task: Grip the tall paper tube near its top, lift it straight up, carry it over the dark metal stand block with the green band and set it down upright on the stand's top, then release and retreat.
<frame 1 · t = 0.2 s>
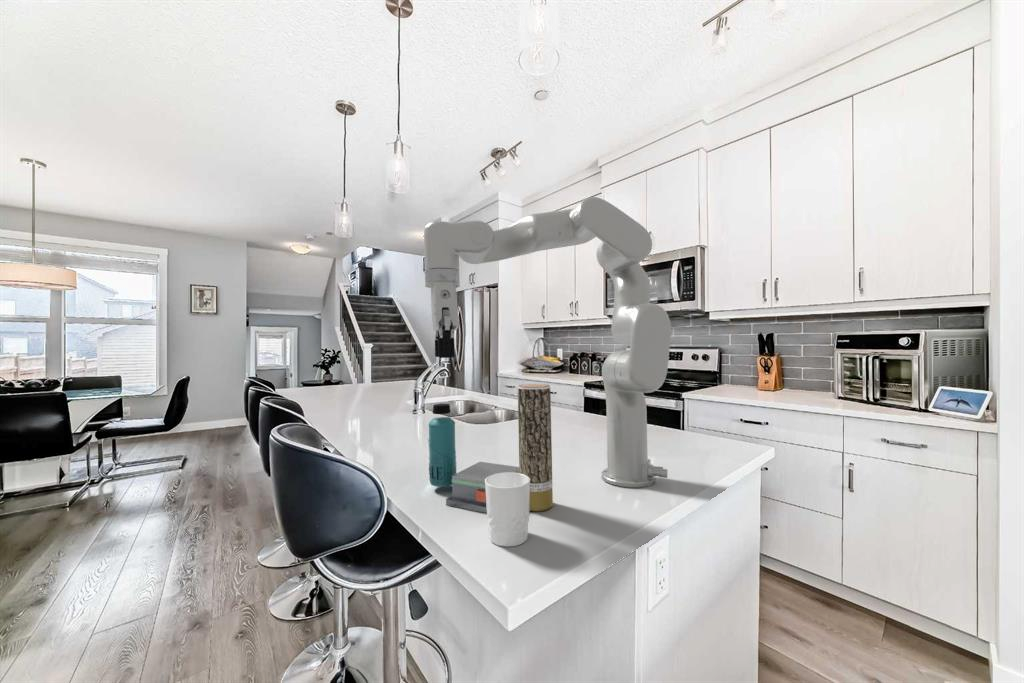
hand: (444, 357, 86), 31 cm above the countertop, tool pointing down, fingers open, 9 cm apart
paper tube: (536, 506, 80), on the countertop
white cup: (508, 538, 67), on the countertop
beverage bottle: (443, 489, 91), on the countertop
stand: (488, 499, 85), on the countertop
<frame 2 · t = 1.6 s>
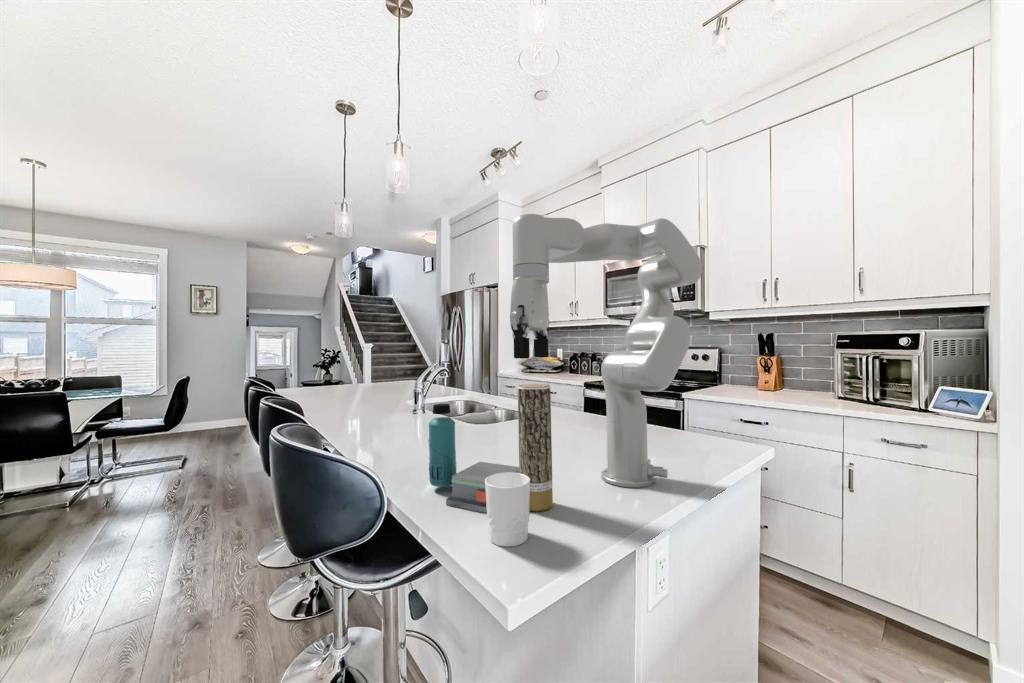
hand: (531, 357, 81), 31 cm above the countertop, tool pointing down, fingers open, 9 cm apart
nothing on the countertop moved.
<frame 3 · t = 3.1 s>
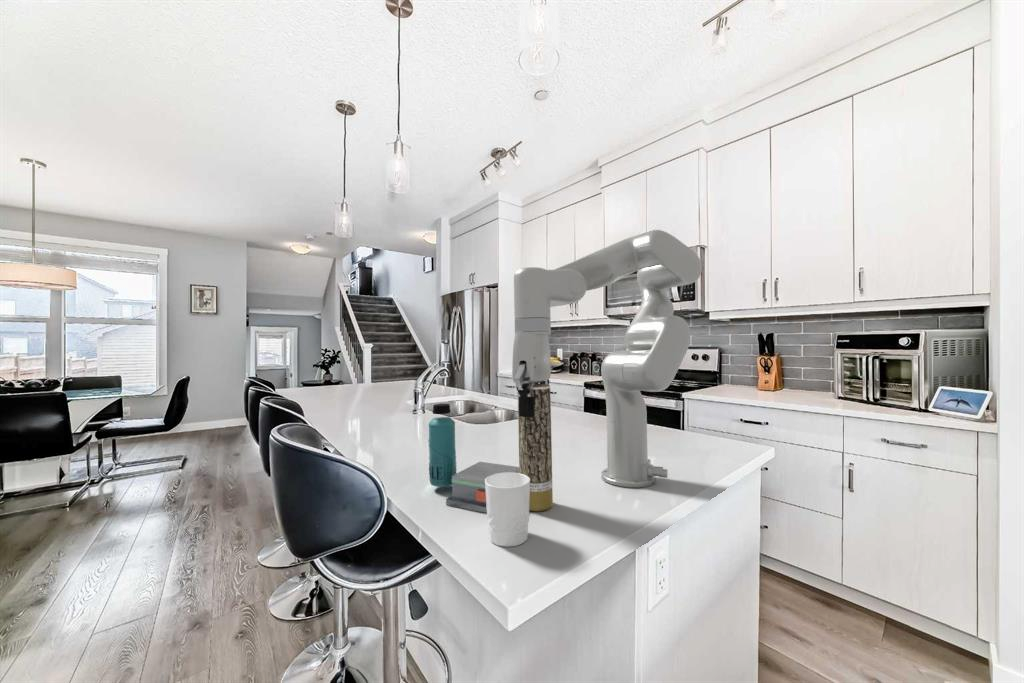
hand: (534, 412, 81), 19 cm above the countertop, tool pointing down, fingers closed on paper tube, 6 cm apart
paper tube: (536, 506, 80), on the countertop, touching gripper
everything else where it was.
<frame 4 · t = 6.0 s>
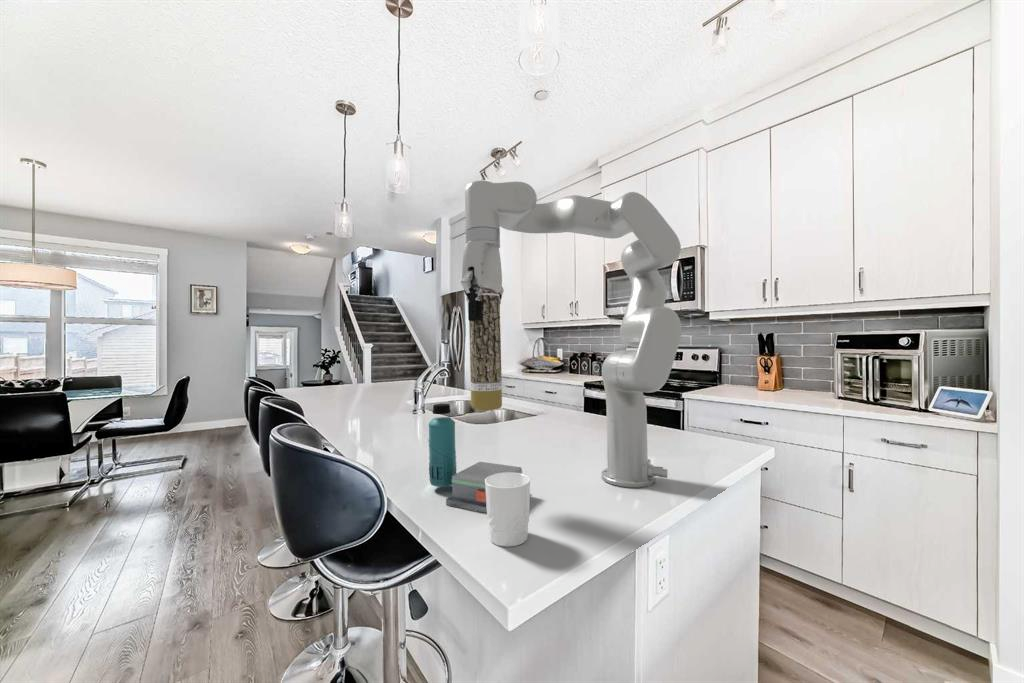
hand: (484, 320, 85), 39 cm above the countertop, tool pointing down, fingers closed on paper tube, 6 cm apart
paper tube: (486, 409, 85), point 20 cm above the countertop, touching gripper
everything else where it was.
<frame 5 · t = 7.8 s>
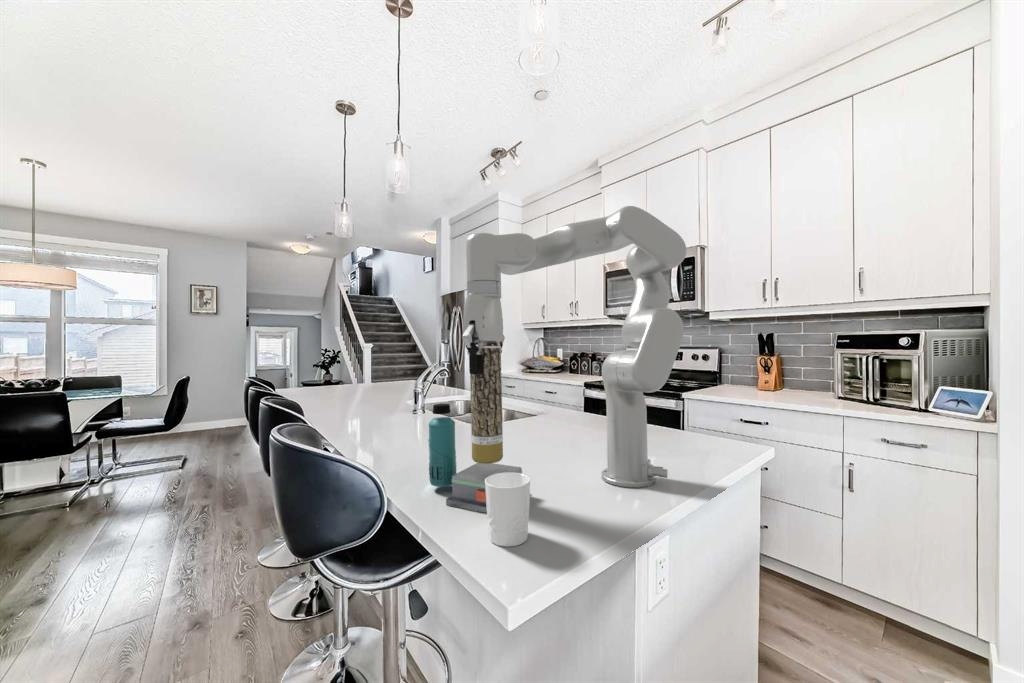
hand: (485, 372, 85), 28 cm above the countertop, tool pointing down, fingers closed on paper tube, 6 cm apart
paper tube: (487, 461, 85), point 8 cm above the countertop, touching gripper
everything else where it was.
when the fingers open (27 cm above the countertop, at t = 9.1 s): paper tube drops 1 cm, resting on stand.
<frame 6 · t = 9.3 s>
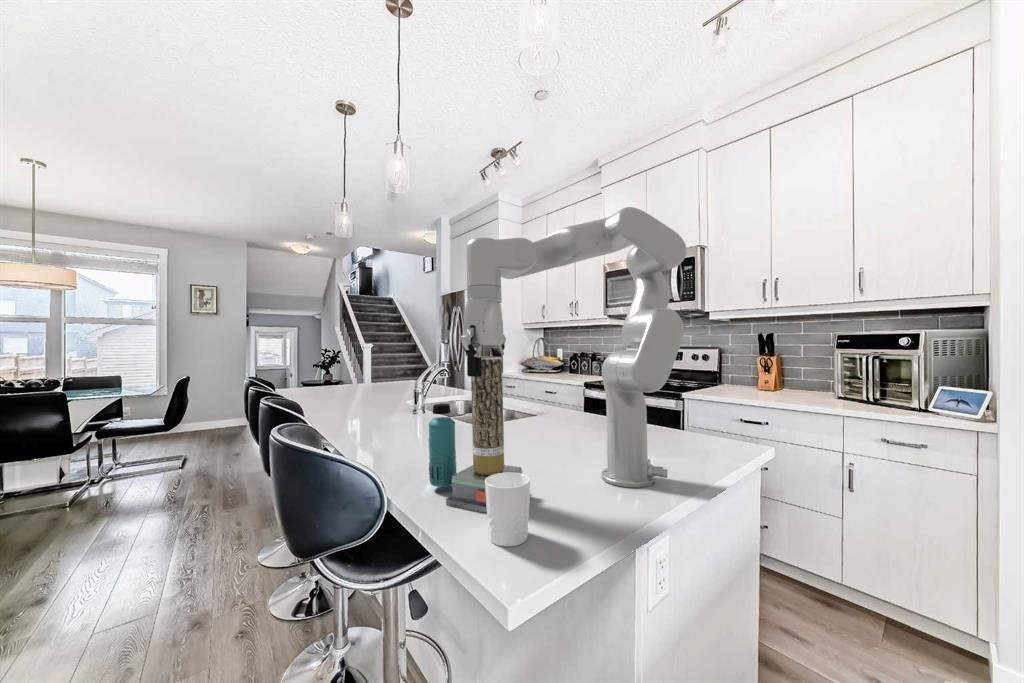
hand: (486, 374, 85), 27 cm above the countertop, tool pointing down, fingers open, 8 cm apart
paper tube: (488, 472, 85), point 6 cm above the countertop, touching stand
everything else where it was.
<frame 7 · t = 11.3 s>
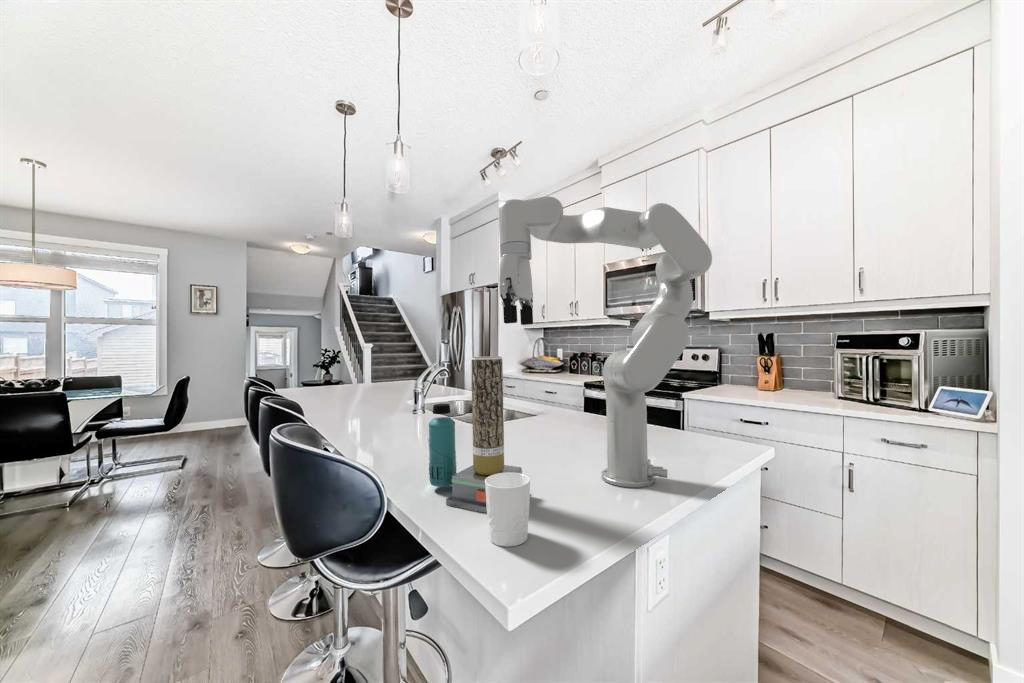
hand: (519, 323, 94), 39 cm above the countertop, tool pointing down, fingers open, 9 cm apart
nothing on the countertop moved.
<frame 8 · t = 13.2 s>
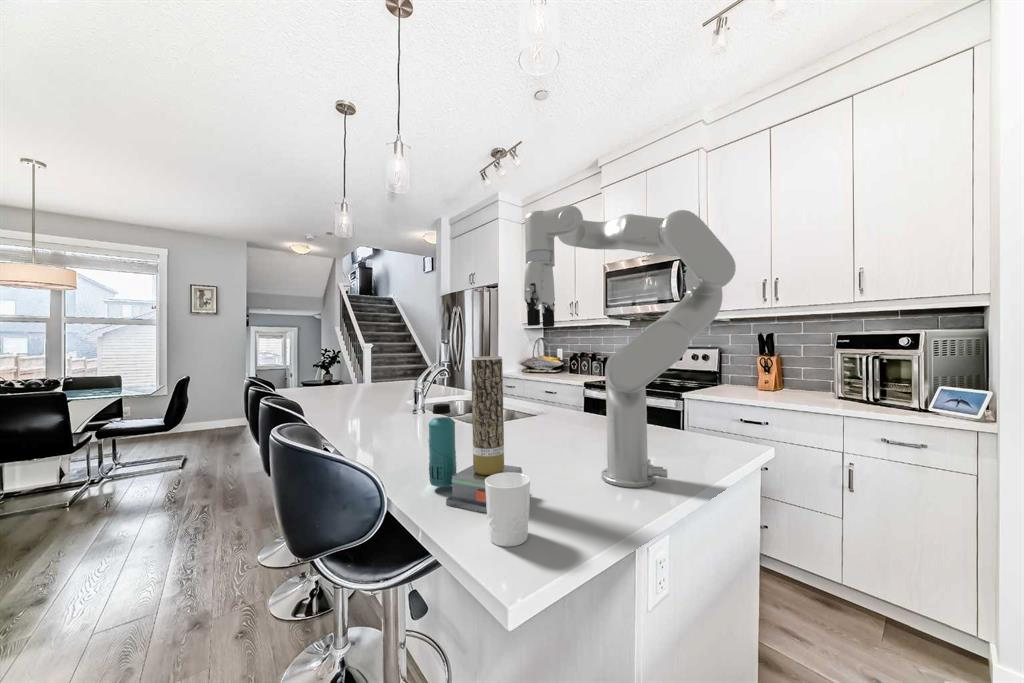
hand: (541, 326, 101), 38 cm above the countertop, tool pointing down, fingers open, 9 cm apart
nothing on the countertop moved.
at the end: paper tube inside the target area on the stand (0.2 cm from its centre), point 5.8 cm above the stand's base; paper tube tilted 0°; the gripper is holding nothing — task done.
